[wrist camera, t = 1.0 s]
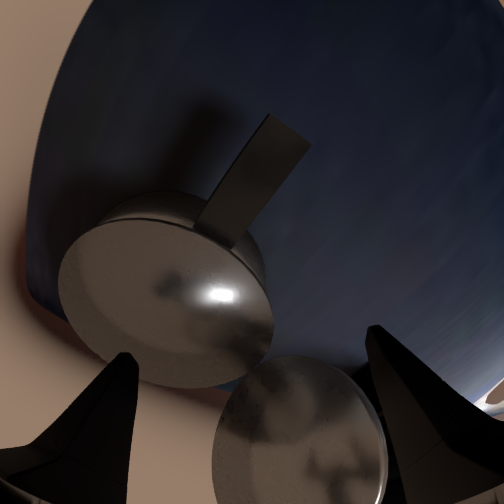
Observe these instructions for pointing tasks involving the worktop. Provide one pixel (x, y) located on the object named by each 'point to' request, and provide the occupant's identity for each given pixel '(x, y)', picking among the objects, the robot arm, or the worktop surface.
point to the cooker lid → (299, 438)
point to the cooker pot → (183, 273)
